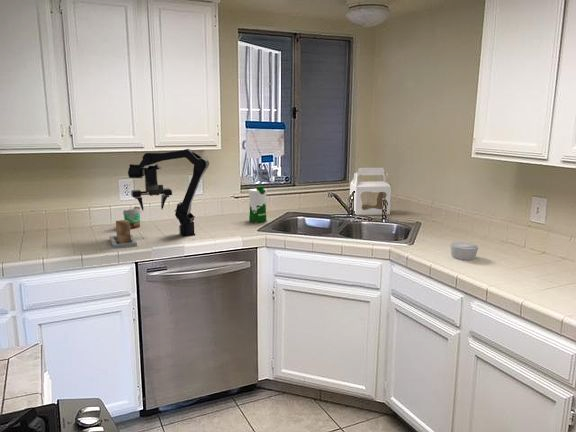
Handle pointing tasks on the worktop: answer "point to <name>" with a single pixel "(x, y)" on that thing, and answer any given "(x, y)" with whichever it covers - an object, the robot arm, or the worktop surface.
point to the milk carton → (257, 204)
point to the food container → (133, 217)
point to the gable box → (371, 186)
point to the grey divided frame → (115, 245)
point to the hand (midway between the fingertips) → (152, 210)
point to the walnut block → (123, 231)
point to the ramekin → (463, 250)
